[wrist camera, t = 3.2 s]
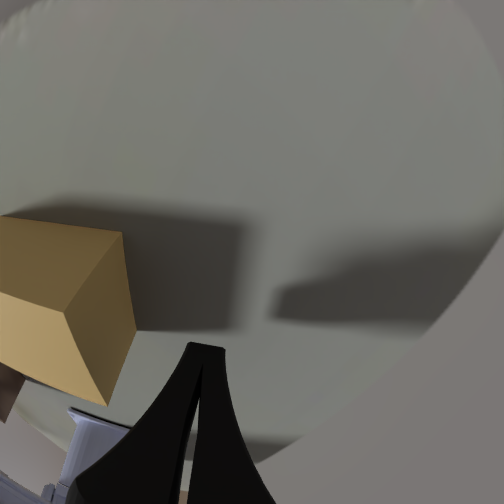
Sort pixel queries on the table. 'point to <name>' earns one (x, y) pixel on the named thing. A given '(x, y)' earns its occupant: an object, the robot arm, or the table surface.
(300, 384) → the table surface
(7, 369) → the walnut block
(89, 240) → the ochre block
